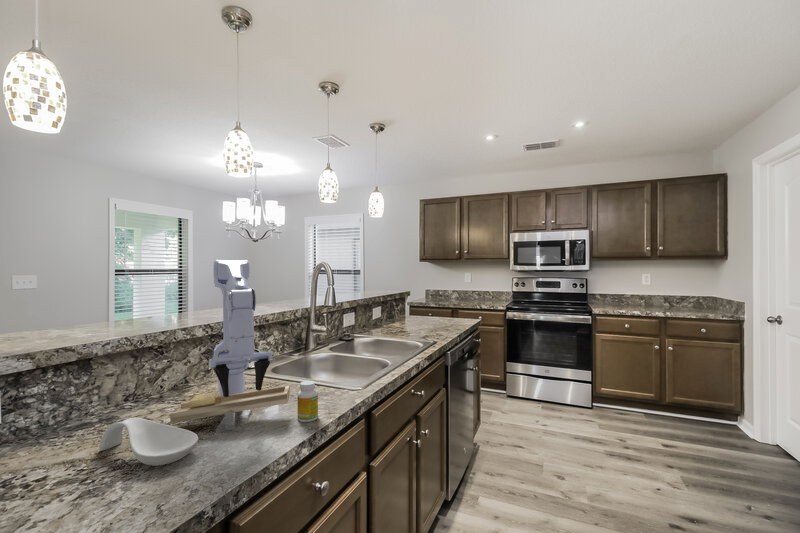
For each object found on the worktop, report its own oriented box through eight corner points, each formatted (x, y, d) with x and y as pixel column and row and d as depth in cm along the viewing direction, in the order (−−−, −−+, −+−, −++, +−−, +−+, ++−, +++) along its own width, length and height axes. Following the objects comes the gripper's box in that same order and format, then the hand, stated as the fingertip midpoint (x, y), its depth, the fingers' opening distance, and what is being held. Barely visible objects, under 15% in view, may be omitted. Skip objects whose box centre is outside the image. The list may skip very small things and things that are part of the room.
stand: (228, 414, 102) (228, 398, 102) (251, 412, 103) (251, 396, 103) (216, 433, 90) (216, 414, 90) (242, 430, 91) (241, 412, 92)
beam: (183, 413, 98) (182, 402, 98) (290, 395, 104) (289, 384, 104) (170, 425, 90) (169, 413, 90) (287, 405, 96) (286, 394, 96)
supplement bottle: (312, 423, 96) (312, 386, 96) (293, 421, 97) (293, 385, 97) (321, 415, 101) (320, 380, 101) (303, 414, 102) (303, 379, 102)
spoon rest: (210, 450, 82) (210, 418, 82) (161, 478, 71) (161, 441, 71) (133, 437, 89) (133, 408, 89) (78, 461, 78) (79, 427, 78)
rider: (196, 406, 97) (195, 395, 97) (220, 402, 98) (219, 391, 98) (190, 413, 92) (189, 401, 92) (215, 408, 93) (214, 397, 93)
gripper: (214, 340, 83) (214, 402, 82) (276, 334, 92) (277, 389, 91) (206, 340, 88) (207, 397, 87) (266, 334, 98) (267, 385, 96)
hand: (242, 393), depth 89 cm, fingers open, 7 cm apart
